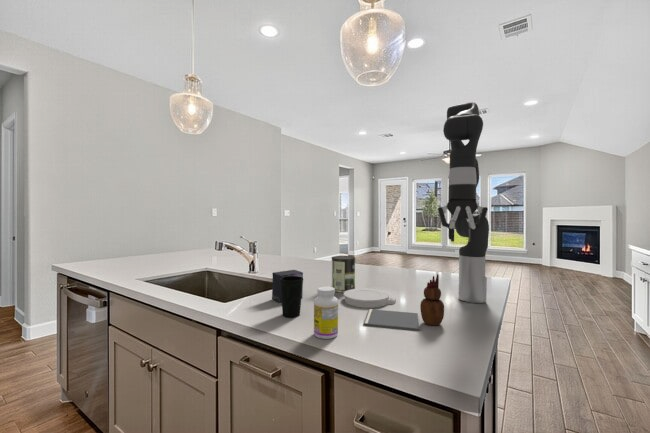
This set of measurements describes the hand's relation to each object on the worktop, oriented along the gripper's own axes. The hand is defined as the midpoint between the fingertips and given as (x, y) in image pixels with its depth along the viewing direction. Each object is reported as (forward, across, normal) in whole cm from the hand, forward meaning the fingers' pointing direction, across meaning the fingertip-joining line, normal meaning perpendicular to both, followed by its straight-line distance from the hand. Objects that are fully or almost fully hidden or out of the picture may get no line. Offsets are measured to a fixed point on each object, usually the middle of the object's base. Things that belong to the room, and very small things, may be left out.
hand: (461, 241), depth 92 cm
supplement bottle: (+26, +37, +17) cm, 48 cm away
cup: (+26, +52, +4) cm, 58 cm away
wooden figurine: (+26, +8, 0) cm, 27 cm away
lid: (+26, +29, -19) cm, 43 cm away
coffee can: (+26, +42, -33) cm, 59 cm away
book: (+25, +20, 0) cm, 32 cm away
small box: (+26, +60, -13) cm, 67 cm away
